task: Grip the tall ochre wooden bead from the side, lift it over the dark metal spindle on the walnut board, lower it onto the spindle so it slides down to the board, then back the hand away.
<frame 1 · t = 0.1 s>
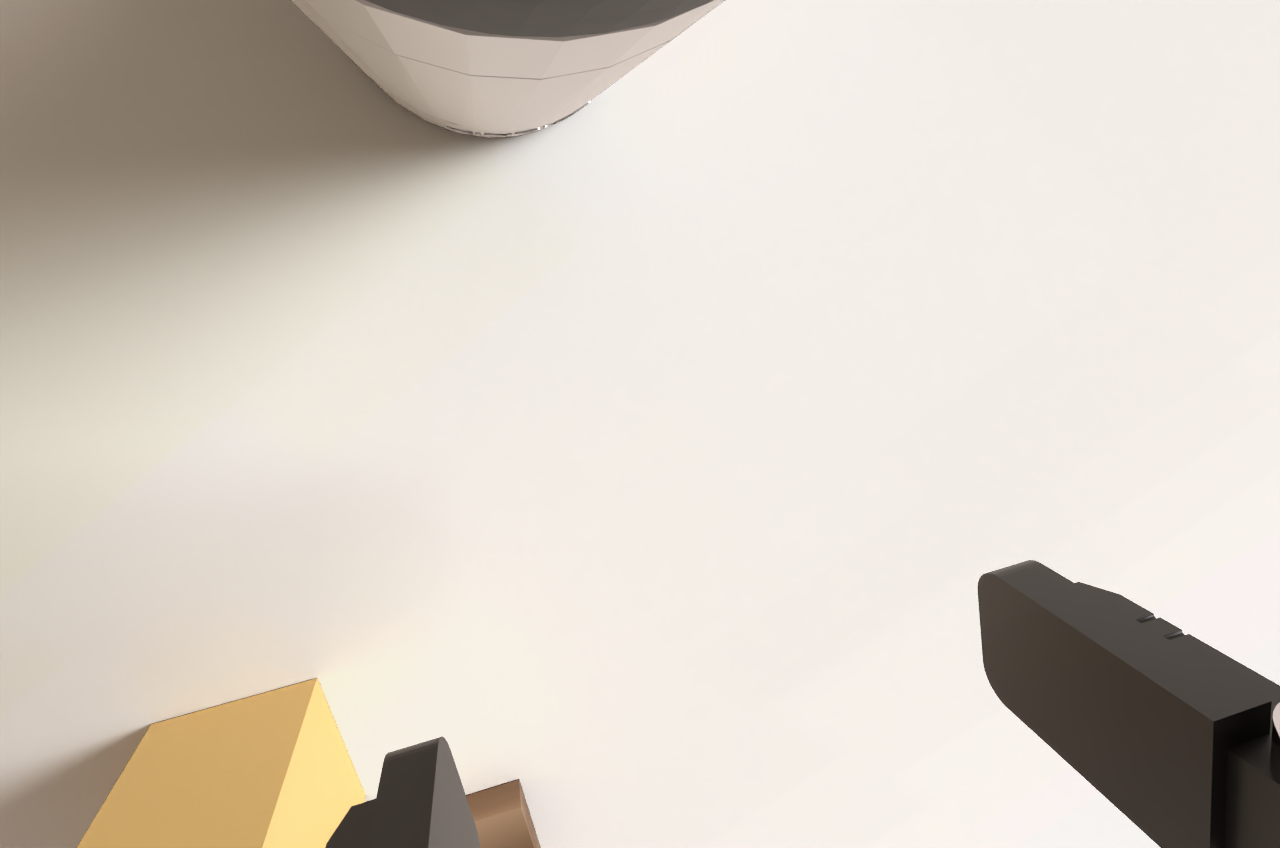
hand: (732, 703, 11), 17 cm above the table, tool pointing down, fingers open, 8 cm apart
bead: (263, 762, 28), on the table
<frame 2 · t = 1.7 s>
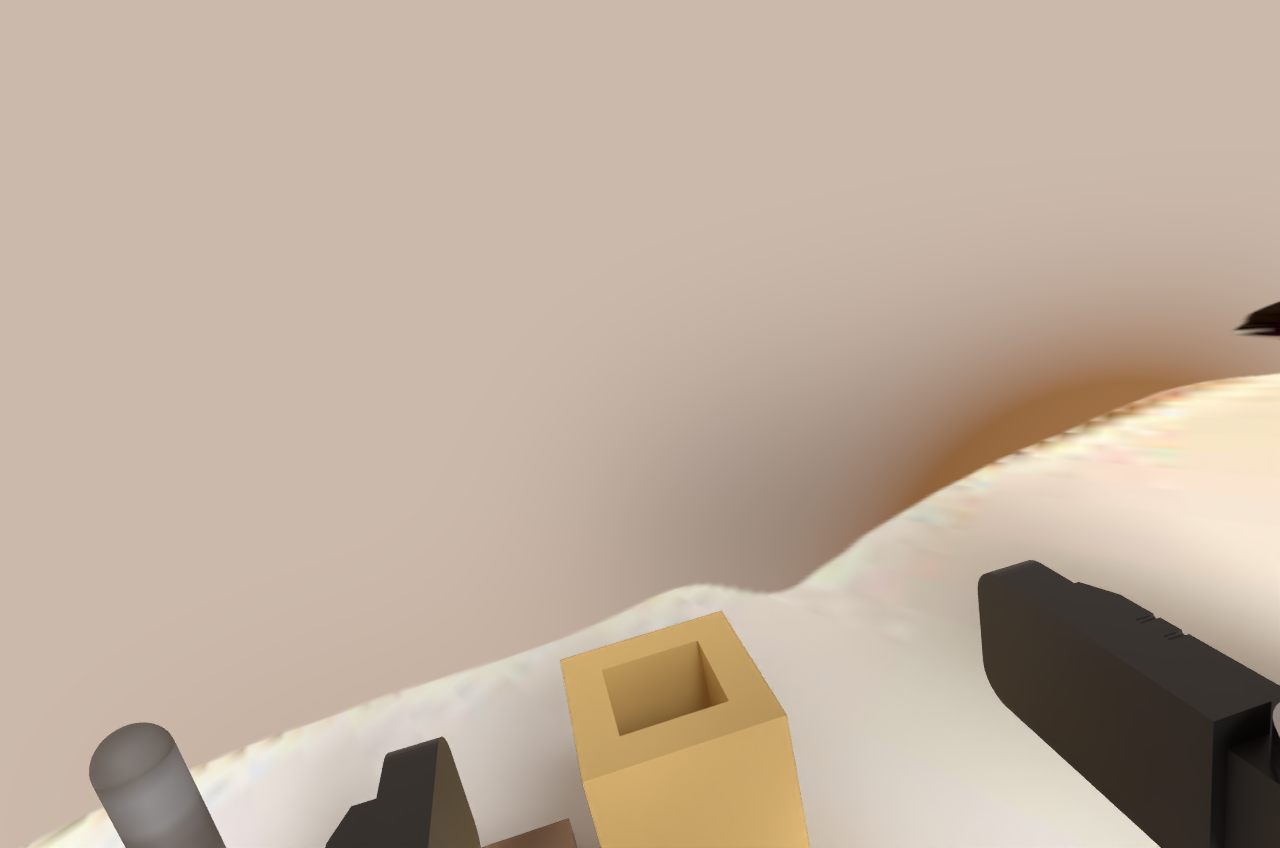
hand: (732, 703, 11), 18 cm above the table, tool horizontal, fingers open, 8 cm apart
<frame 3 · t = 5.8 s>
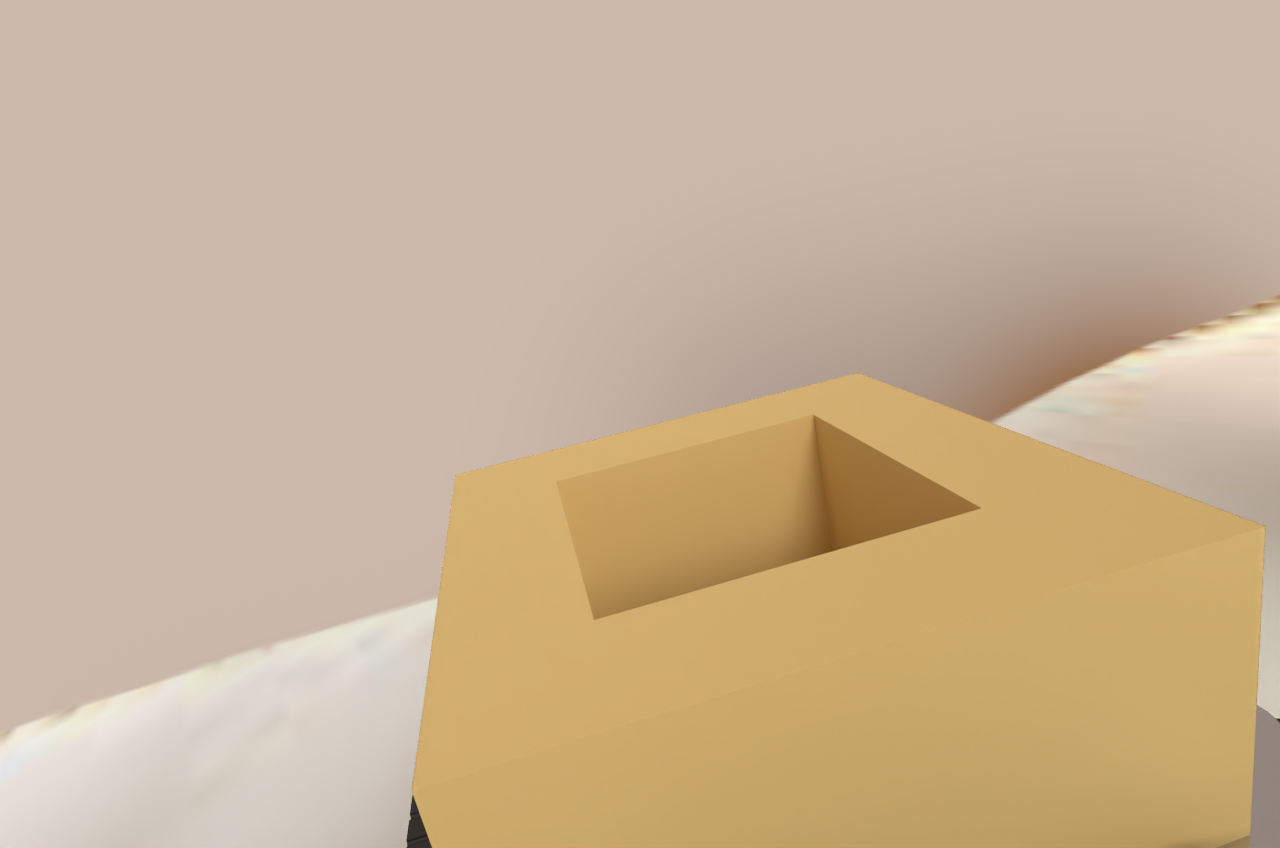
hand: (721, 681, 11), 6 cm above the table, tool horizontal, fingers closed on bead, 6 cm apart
when the fingers open (17 cm above the table, at t = 12.2 s): bead drops 9 cm, resting on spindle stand.
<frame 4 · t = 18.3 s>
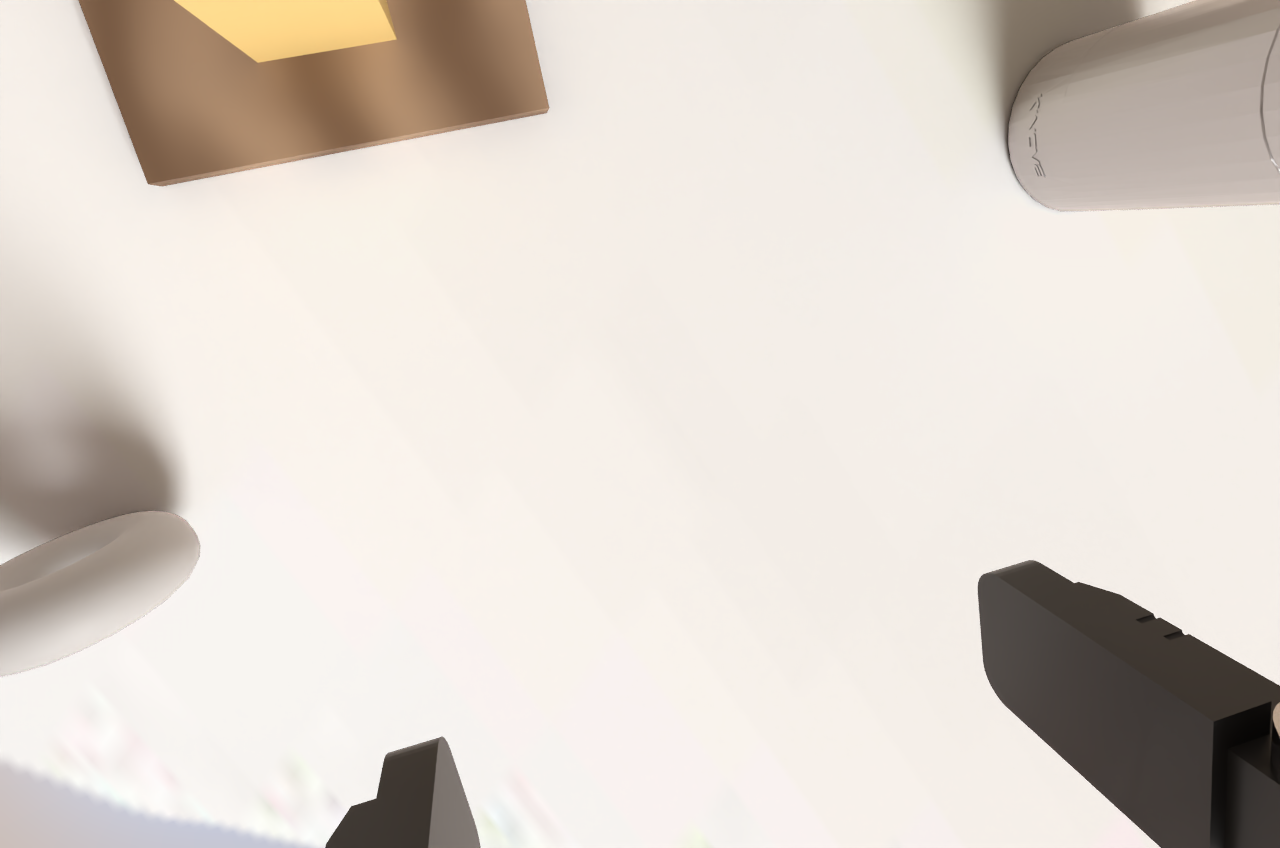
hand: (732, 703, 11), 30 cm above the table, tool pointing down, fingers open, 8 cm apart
donut: (130, 539, 37), on the table
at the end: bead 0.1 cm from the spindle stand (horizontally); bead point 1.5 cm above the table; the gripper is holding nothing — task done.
